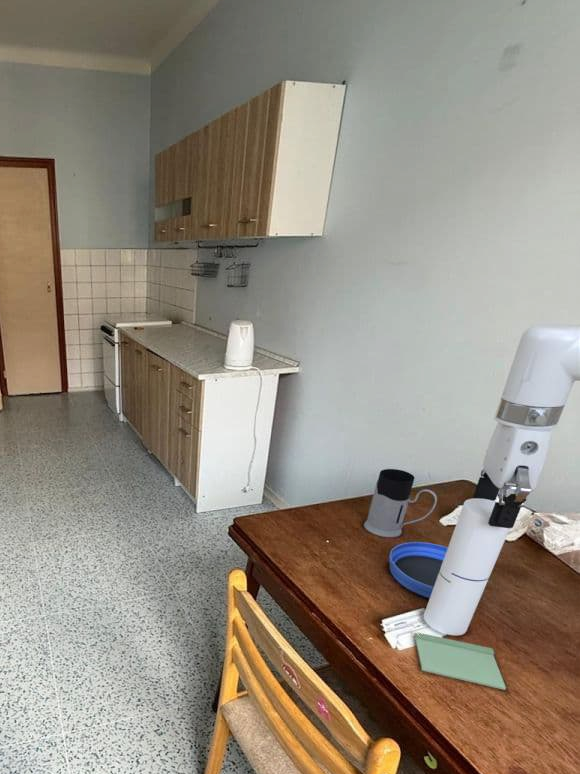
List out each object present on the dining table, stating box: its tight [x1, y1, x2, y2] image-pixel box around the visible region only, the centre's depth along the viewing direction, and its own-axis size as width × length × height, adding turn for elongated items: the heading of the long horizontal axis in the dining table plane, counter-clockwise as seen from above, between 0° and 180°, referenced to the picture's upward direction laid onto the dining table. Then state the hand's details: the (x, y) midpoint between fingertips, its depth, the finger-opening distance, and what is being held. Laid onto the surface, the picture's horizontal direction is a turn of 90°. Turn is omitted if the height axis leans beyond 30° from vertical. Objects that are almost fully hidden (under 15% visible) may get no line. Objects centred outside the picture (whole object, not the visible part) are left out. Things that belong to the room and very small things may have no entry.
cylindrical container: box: [423, 497, 511, 636], centre depth 85 cm, size 7×7×25 cm
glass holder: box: [363, 468, 438, 538], centre depth 116 cm, size 9×14×15 cm, turn 39°
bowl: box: [388, 541, 448, 599], centre depth 102 cm, size 18×18×4 cm
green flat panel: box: [413, 631, 507, 691], centre depth 82 cm, size 12×9×1 cm
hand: (491, 512), depth 79 cm, fingers open, 9 cm apart
